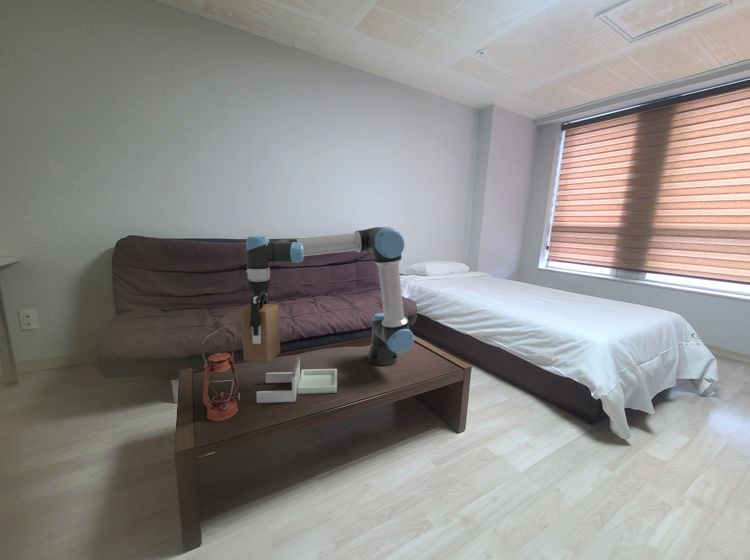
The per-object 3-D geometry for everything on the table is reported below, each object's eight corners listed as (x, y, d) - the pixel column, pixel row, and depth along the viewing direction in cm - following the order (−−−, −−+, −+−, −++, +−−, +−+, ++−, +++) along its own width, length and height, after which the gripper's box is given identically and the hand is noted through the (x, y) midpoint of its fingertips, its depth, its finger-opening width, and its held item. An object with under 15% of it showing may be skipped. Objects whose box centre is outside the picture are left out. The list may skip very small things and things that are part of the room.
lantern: (214, 403, 108) (209, 323, 103) (244, 403, 109) (240, 323, 104) (201, 421, 99) (195, 333, 93) (234, 420, 99) (229, 333, 94)
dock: (300, 380, 126) (299, 356, 124) (295, 401, 111) (294, 374, 109) (266, 381, 124) (265, 357, 122) (256, 402, 109) (255, 375, 107)
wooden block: (267, 364, 109) (265, 311, 105) (242, 362, 110) (239, 309, 107) (281, 353, 118) (279, 303, 115) (258, 350, 120) (255, 302, 116)
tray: (336, 374, 133) (337, 368, 132) (336, 392, 118) (336, 387, 117) (302, 374, 131) (301, 369, 130) (297, 394, 116) (297, 388, 116)
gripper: (256, 273, 120) (258, 326, 124) (237, 286, 97) (240, 350, 101) (276, 274, 121) (277, 326, 125) (261, 286, 98) (264, 349, 102)
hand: (261, 336), depth 113 cm, fingers closed on wooden block, 11 cm apart
